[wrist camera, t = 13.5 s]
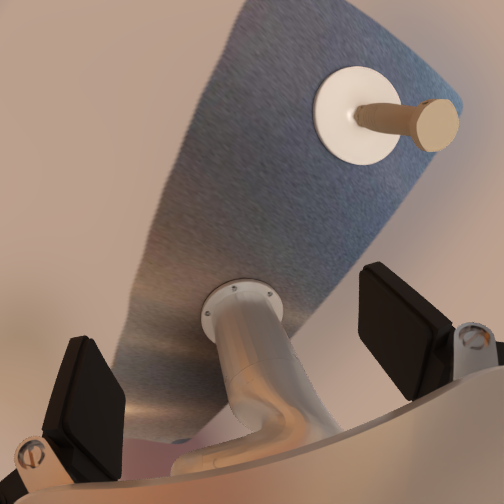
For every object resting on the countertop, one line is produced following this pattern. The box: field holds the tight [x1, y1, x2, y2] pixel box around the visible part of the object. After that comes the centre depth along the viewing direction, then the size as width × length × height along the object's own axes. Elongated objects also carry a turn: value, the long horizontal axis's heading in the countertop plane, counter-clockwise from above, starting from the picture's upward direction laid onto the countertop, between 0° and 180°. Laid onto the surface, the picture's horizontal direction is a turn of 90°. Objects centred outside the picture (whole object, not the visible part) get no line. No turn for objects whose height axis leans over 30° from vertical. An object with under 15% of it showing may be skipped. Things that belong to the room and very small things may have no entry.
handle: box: [354, 99, 459, 152], centre depth 32 cm, size 5×6×15 cm
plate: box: [313, 66, 401, 165], centre depth 40 cm, size 14×14×2 cm
